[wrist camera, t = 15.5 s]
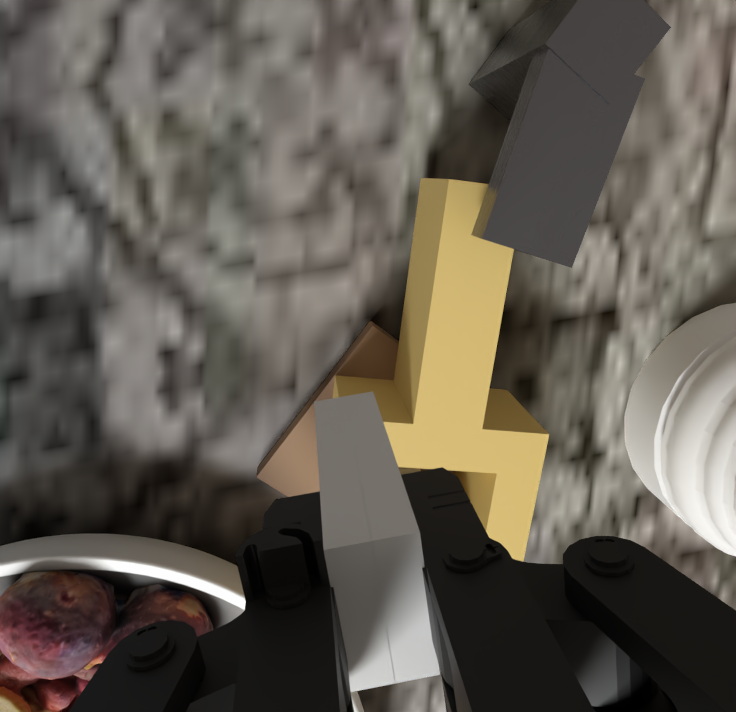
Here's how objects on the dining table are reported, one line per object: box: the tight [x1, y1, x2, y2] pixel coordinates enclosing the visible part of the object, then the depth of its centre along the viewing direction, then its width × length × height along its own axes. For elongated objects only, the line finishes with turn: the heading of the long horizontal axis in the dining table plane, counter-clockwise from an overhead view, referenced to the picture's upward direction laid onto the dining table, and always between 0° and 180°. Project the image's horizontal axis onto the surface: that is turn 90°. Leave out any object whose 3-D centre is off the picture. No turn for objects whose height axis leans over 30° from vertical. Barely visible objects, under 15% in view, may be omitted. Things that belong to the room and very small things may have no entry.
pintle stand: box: [256, 320, 456, 497], centre depth 31 cm, size 10×10×9 cm
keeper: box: [469, 0, 671, 268], centre depth 27 cm, size 9×6×10 cm, turn 142°
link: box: [333, 178, 549, 561], centre depth 30 cm, size 19×9×6 cm, turn 173°
